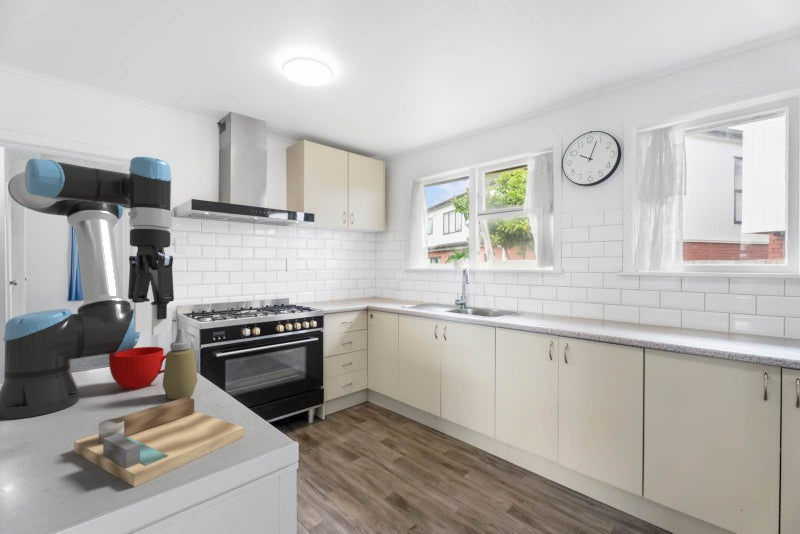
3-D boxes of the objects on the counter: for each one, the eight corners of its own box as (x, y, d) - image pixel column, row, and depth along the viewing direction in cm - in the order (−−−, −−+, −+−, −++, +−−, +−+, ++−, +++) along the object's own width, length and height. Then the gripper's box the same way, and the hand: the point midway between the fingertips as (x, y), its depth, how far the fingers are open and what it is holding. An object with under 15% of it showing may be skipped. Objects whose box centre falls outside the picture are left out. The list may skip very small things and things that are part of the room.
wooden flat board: (74, 451, 70) (74, 425, 70) (181, 415, 87) (182, 393, 87) (134, 486, 59) (134, 455, 59) (243, 437, 76) (244, 412, 76)
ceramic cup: (171, 390, 105) (171, 354, 105) (99, 395, 100) (99, 358, 100) (183, 376, 117) (183, 345, 117) (120, 381, 112) (120, 348, 112)
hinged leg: (104, 444, 68) (104, 428, 68) (94, 439, 70) (94, 423, 70) (195, 413, 83) (195, 399, 83) (185, 409, 85) (185, 396, 85)
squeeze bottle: (181, 403, 95) (182, 332, 95) (154, 400, 96) (155, 330, 96) (204, 392, 103) (204, 327, 103) (179, 390, 104) (179, 326, 104)
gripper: (109, 229, 85) (109, 331, 85) (156, 225, 75) (156, 340, 75) (145, 232, 91) (145, 326, 91) (193, 228, 81) (192, 334, 81)
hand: (150, 332), depth 83 cm, fingers open, 7 cm apart
